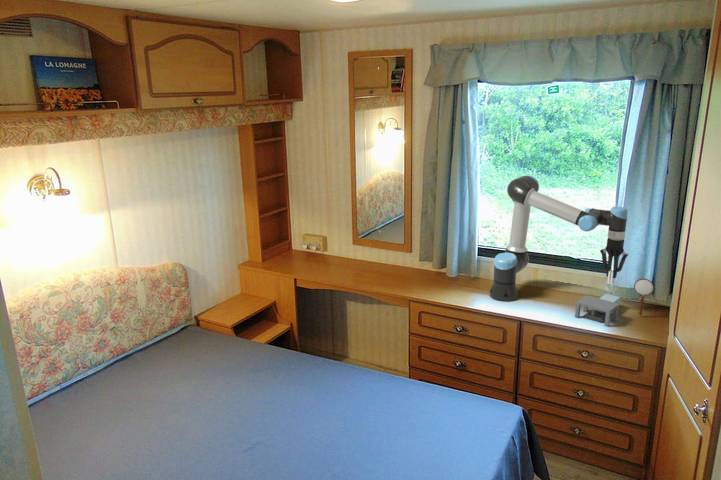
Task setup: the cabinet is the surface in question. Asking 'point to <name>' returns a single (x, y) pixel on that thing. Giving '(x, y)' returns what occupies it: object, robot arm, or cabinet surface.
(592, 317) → the grey footstool
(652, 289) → the magnifying glass
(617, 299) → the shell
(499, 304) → the cabinet surface
